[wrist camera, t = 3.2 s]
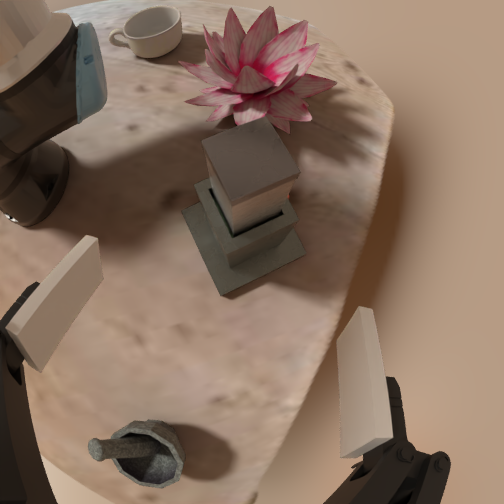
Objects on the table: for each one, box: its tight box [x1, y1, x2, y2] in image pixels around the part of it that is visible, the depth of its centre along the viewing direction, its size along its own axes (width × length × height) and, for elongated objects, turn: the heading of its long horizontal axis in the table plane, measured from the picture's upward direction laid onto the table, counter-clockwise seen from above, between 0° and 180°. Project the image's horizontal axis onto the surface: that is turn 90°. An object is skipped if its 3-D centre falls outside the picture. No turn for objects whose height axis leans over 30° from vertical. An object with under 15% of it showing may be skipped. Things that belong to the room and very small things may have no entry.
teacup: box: [109, 6, 182, 58], centre depth 39 cm, size 14×11×8 cm
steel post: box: [201, 116, 300, 239], centre depth 27 cm, size 4×4×20 cm
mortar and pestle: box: [88, 420, 185, 488], centre depth 27 cm, size 11×9×12 cm
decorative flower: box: [178, 6, 337, 134], centre depth 34 cm, size 21×21×15 cm
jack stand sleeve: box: [182, 177, 307, 296], centre depth 32 cm, size 12×12×13 cm
